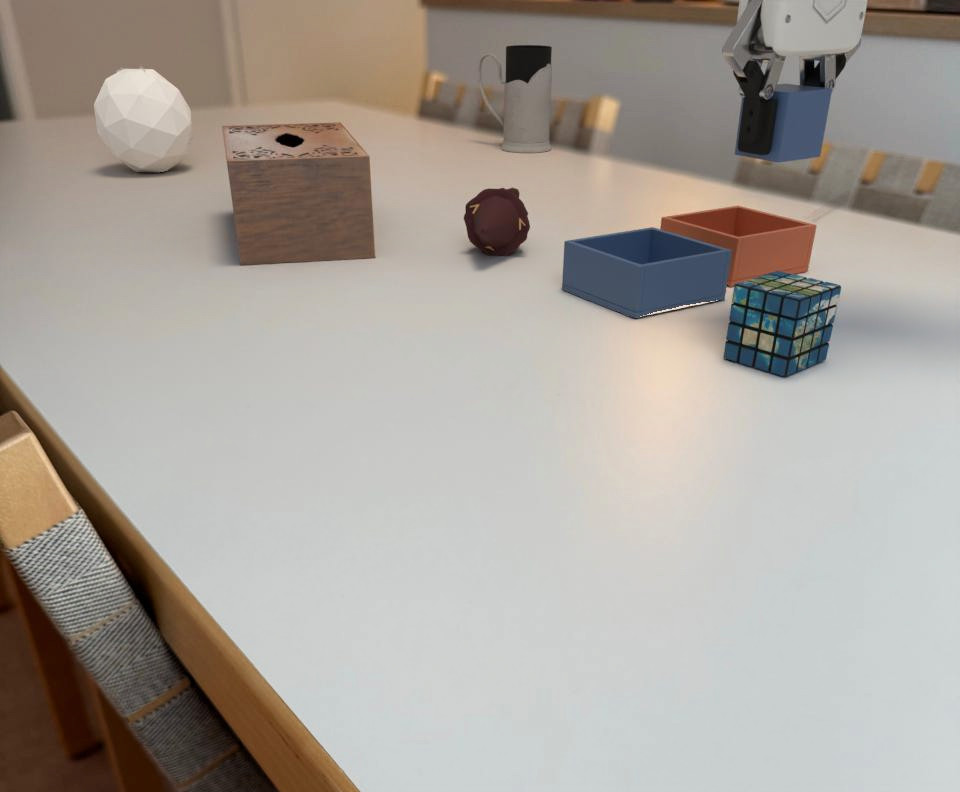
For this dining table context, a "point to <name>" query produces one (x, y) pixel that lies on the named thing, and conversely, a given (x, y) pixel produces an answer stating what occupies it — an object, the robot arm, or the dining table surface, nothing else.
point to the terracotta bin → (749, 239)
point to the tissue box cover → (299, 193)
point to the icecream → (497, 221)
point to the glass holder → (524, 98)
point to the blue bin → (645, 270)
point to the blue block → (796, 123)
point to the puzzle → (781, 322)
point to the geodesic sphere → (143, 120)
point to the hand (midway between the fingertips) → (778, 147)
